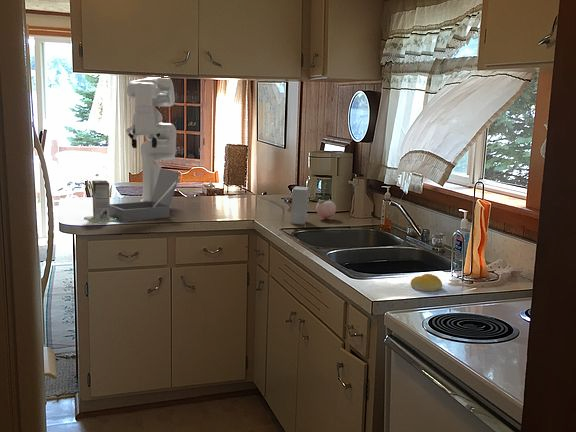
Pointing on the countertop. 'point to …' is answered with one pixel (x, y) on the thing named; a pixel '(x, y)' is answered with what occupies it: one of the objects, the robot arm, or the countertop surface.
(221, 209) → the countertop surface
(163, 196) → the case
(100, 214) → the coffee box
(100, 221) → the mat
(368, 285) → the countertop surface
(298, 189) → the skincare box
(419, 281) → the bread roll
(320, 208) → the decorative fruit
